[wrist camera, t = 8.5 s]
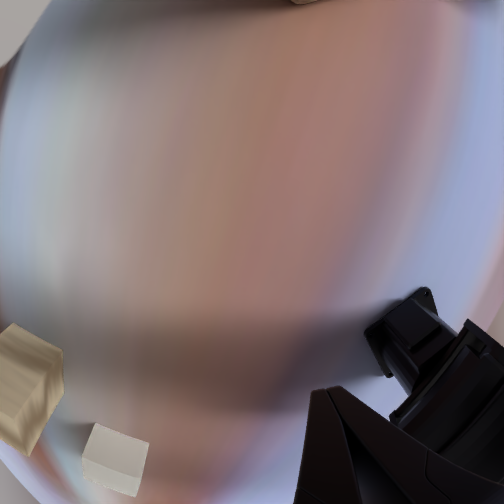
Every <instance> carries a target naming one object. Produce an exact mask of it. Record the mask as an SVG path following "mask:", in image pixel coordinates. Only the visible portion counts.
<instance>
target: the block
mask: <svg viewBox="0 0 504 504" xmlns="http://www.w3.org/2000/svg"><path fill="white" fill-rule="evenodd" d="M291 1H292V2H294V3H295V4H307V3H310V2H314V1H317V0H291Z"/></svg>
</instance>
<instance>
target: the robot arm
mask: <svg viewBox="0 0 504 504" xmlns="http://www.w3.org/2000/svg"><path fill="white" fill-rule="evenodd" d="M425 292H426V294H425ZM424 294H425V295H424ZM463 325H464V326H463V328H462V329H461V331H460V332H459V334H458V333H457V332H455V331H454V330H453V329H452V328H451V327H450V326H449V325H447V324H446V323H445V322H444V321H443V320H442V319H440V318H439V316H438V313H437V309H436V306H435V302H434V299H433V296H432V292H431V290H430V289H429V288H428V287H423V288H422V289H420V290H419V291H418V292H417V293H415V294H414V295H413V296H411V297H410V298H409V299H408V300H406V301H405V302H404V303H402V304H401V305H400V306H398V307H397V308H396V309H394V310H393V311H391V312H390V313H389V314H387V315H386V316H385V317H383V318H382V319H380V320H379V321H377V322H376V323H375V324H373V325H372V326H370V327H369V328H367V329H366V330H365V332H364V337H365V339H366V340H367V342H368V344H369V346H370V348H371V350H372V352H373V353H374V355H375V357H376V359H377V361H378V363H379V365H380V367H381V369H382V371H383V373H384V375H385V376H386V377H387V378H391V377H393V376H395V377H396V379H397V380H398V382H399V383H400V384H401V386H402V387H403V389H404V390H405V392H406V393H407V395H408V396H409V397H408V398H407V399H406V400H405V401H404V402H403V403H402V404H401V405H400V406H399V407H398V408H397V409H396V410H394V411H393V412H392V413H391V414H390V415H389V419H390V421H388V420H387V419H385V418H384V417H382V416H381V415H380V414H378V413H377V412H376V411H374V410H373V409H371V408H370V407H369V406H367V405H366V404H365V403H363V402H362V401H360V400H359V399H358V398H356V397H355V396H354V395H352V394H351V393H350V392H348V391H347V390H346V389H344V388H343V387H342V386H334V387H329V388H327V389H318V390H313V391H311V395H310V403H309V411H308V419H307V426H306V433H305V440H304V447H303V453H302V460H301V466H300V471H299V477H298V483H297V489H296V492H295V497H294V502H293V504H504V347H503V346H501V345H500V344H499V343H498V342H497V341H495V340H494V339H493V338H492V337H490V336H489V335H488V334H487V333H486V332H484V331H483V330H482V329H481V328H479V327H478V326H477V325H476V324H474V323H473V322H472V321H470V320H469V319H468V318H467V320H466V321H465V323H464V324H463ZM370 333H372V334H371V335H369V334H370Z"/></svg>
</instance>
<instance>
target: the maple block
mask: <svg viewBox="0 0 504 504" xmlns="http://www.w3.org/2000/svg"><path fill="white" fill-rule="evenodd" d="M63 394H64V379H63V350H61V349H59V348H57V347H55V346H54V345H52V344H50V343H48V342H46V341H44V340H42V339H40V338H39V337H37V336H35V335H33V334H32V333H30V332H28V331H26V330H25V329H23V328H21V327H20V326H18V325H16V324H15V323H12V324H11V325H10V326H9V327H7V328H6V329H5V330H4V331H3V332H2V333H1V334H0V439H1V440H2V441H4V442H5V443H7V444H8V445H10V446H11V447H13V448H14V449H16V450H17V451H19V452H20V453H22V454H24V455H25V456H27V457H29V456H30V454H31V452H32V450H33V448H34V446H35V444H36V442H37V440H38V438H39V436H40V435H41V433H42V431H43V429H44V427H45V426H46V424H47V422H48V420H49V418H50V417H51V415H52V413H53V411H54V410H55V408H56V406H57V405H58V403H59V401H60V399H61V398H62V396H63Z"/></svg>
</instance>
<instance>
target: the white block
mask: <svg viewBox="0 0 504 504" xmlns="http://www.w3.org/2000/svg"><path fill="white" fill-rule="evenodd" d="M148 447H149V443H147V442H144V441H141V440H138V439H136V438H133V437H130V436H127V435H125V434H122V433H119V432H117V431H114V430H112V429H109V428H107V427H104V426H102V425H99V424H97V423H95V425H94V427H93V430H92V432H91V434H90V437H89V439H88V442H87V444H86V447H85V449H84V452H83V454H82V467H83V476H84V479H87V480H89V481H91V482H94V483H96V484H99V485H101V486H104V487H106V488H109V489H112V490H115V491H117V492H120V493H123V494H126V495H129V496H132V497H136V495H137V492H138V488H139V485H140V482H141V479H142V474H143V470H144V465H145V460H146V456H147V451H148Z"/></svg>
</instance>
